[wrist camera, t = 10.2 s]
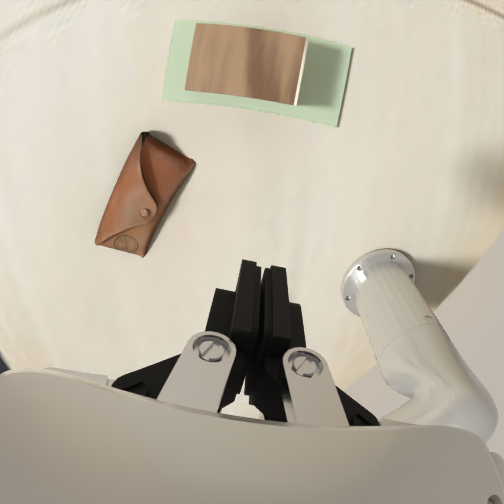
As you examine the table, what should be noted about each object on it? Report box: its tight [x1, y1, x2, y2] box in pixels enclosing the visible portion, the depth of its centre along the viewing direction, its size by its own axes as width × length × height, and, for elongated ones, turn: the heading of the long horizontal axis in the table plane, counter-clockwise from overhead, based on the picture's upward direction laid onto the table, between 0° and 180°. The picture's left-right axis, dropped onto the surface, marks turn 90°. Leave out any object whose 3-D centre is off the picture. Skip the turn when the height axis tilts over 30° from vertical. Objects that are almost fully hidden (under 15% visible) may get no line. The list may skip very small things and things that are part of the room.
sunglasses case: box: [95, 132, 195, 258], centre depth 40 cm, size 18×7×7 cm
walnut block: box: [185, 23, 309, 106], centre depth 30 cm, size 5×8×12 cm
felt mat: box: [162, 21, 352, 127], centre depth 32 cm, size 22×11×1 cm, turn 81°
